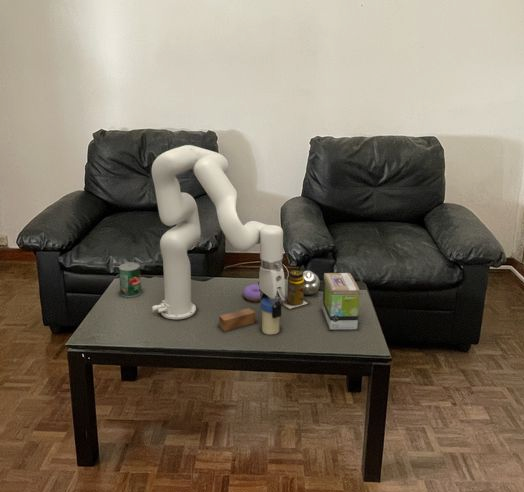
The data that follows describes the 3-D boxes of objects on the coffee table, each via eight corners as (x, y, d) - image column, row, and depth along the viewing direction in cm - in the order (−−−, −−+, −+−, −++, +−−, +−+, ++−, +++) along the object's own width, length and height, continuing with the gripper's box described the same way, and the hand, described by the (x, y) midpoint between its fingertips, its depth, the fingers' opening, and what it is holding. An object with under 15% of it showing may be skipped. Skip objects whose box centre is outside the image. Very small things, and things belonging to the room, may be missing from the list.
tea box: (358, 329, 187) (360, 289, 184) (329, 330, 186) (330, 290, 183) (348, 309, 202) (350, 271, 198) (321, 309, 201) (322, 272, 197)
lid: (278, 302, 188) (278, 296, 188) (282, 312, 182) (282, 305, 181) (258, 303, 187) (259, 297, 187) (262, 313, 181) (262, 306, 180)
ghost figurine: (292, 296, 211) (292, 272, 209) (302, 287, 219) (303, 263, 217) (313, 301, 207) (314, 277, 205) (323, 292, 215) (324, 268, 213)
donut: (237, 296, 210) (238, 284, 210) (253, 293, 217) (254, 281, 217) (256, 304, 203) (258, 292, 203) (272, 301, 210) (274, 289, 210)
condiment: (308, 303, 206) (309, 273, 203) (289, 309, 201) (290, 278, 198) (296, 296, 212) (297, 267, 209) (278, 301, 207) (278, 272, 204)
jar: (267, 336, 182) (268, 308, 180) (258, 328, 187) (258, 301, 185) (282, 331, 185) (283, 304, 183) (273, 323, 190) (273, 297, 188)
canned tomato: (139, 297, 210) (137, 270, 208) (118, 297, 210) (116, 270, 207) (142, 288, 218) (141, 262, 215) (122, 288, 218) (121, 262, 215)
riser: (224, 331, 185) (224, 320, 184) (219, 326, 189) (219, 315, 188) (255, 322, 191) (255, 312, 190) (249, 317, 195) (249, 307, 194)
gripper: (295, 269, 175) (294, 320, 180) (267, 252, 190) (267, 299, 194) (275, 274, 172) (274, 326, 176) (248, 256, 186) (248, 304, 190)
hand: (270, 311), depth 185 cm, fingers closed on lid, 6 cm apart
